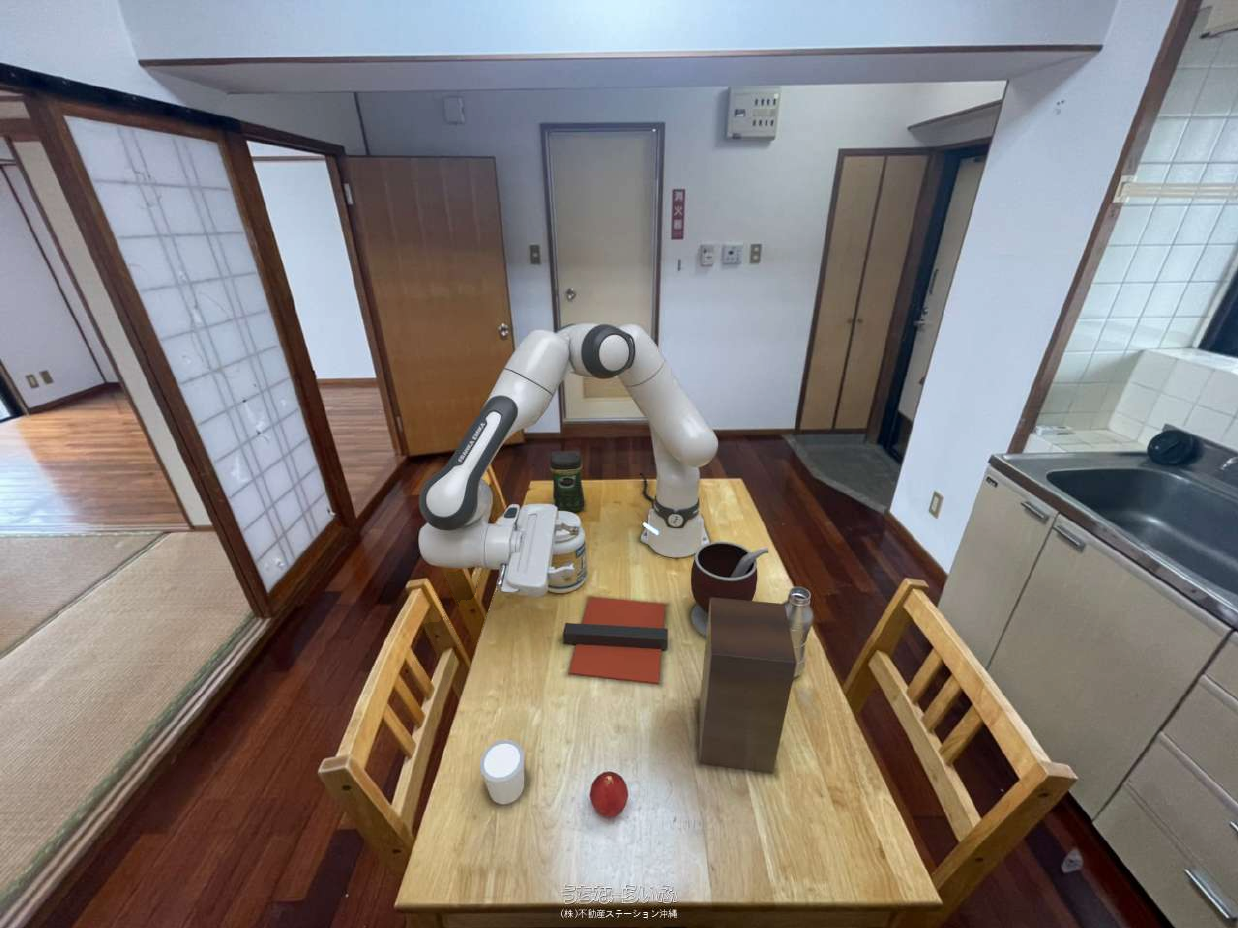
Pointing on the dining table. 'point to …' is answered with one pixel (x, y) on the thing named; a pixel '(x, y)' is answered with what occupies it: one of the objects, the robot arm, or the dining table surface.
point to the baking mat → (620, 659)
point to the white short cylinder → (503, 771)
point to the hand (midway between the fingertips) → (576, 548)
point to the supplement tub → (569, 556)
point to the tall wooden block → (745, 684)
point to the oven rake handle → (615, 636)
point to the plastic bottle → (799, 622)
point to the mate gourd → (722, 577)
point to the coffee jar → (567, 481)
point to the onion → (608, 794)
